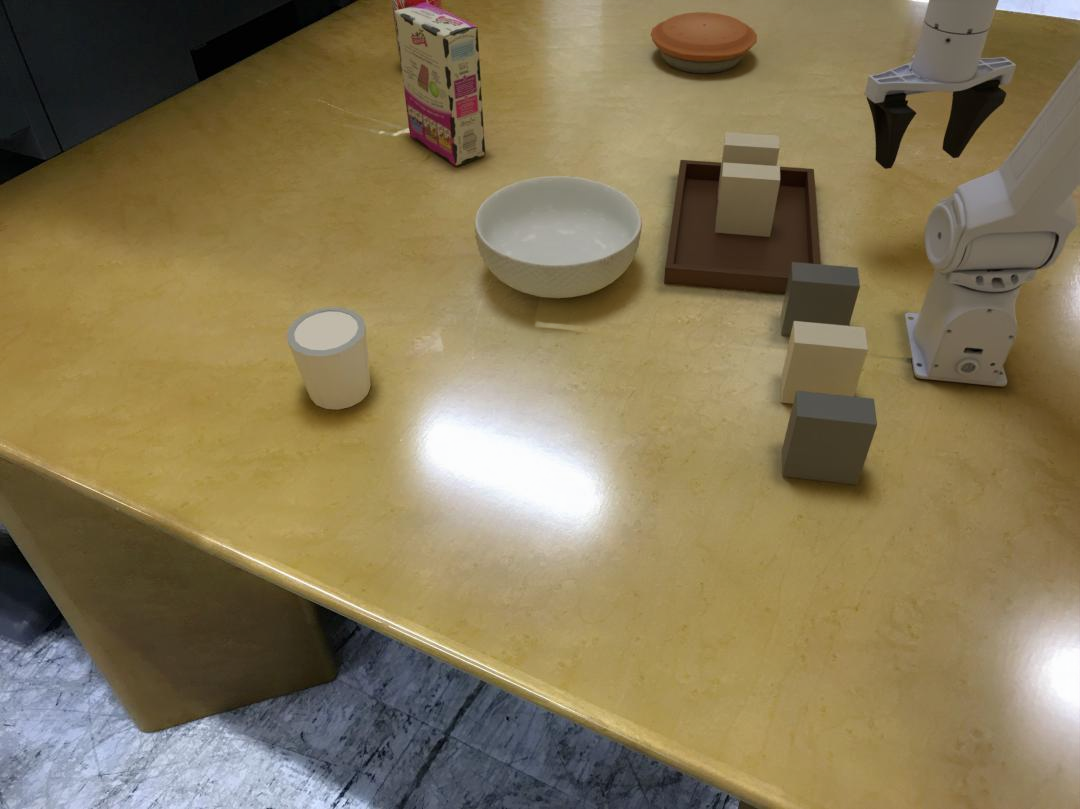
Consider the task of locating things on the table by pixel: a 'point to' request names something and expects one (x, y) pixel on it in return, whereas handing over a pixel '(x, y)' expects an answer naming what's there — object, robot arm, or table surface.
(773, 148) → the white book
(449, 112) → the candy bar box
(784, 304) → the gray rectangular block
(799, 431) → the grey book
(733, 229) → the white book
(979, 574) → the table surface
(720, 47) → the pie
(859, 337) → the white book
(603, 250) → the cereal bowl
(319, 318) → the white cup
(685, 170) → the book tray
